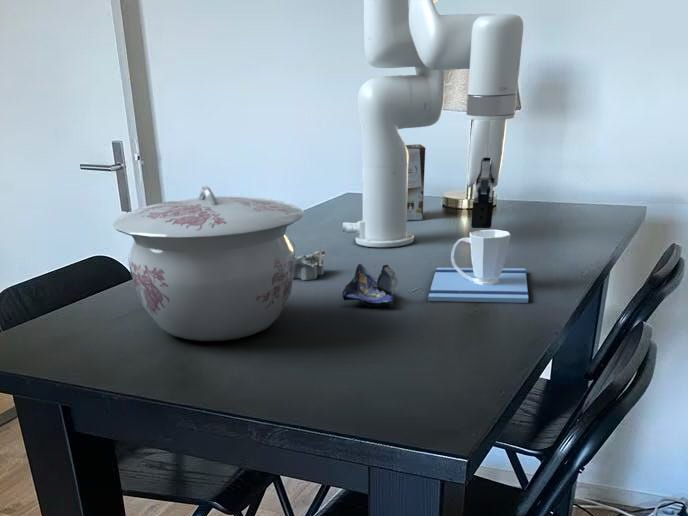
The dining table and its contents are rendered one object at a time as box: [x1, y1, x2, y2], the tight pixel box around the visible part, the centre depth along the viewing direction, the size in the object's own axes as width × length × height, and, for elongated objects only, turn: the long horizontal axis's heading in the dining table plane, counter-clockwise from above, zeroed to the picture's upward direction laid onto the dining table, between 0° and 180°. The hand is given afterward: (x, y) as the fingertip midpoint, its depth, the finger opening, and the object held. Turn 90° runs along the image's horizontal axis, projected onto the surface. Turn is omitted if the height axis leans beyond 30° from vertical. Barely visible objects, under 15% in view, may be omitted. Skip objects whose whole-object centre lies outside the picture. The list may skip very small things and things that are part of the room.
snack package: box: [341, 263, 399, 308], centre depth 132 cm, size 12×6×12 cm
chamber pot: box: [112, 185, 304, 343], centre depth 117 cm, size 28×28×21 cm
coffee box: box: [405, 143, 426, 221], centre depth 192 cm, size 9×6×16 cm
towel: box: [427, 267, 529, 304], centre depth 138 cm, size 16×20×1 cm
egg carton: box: [293, 250, 326, 281], centre depth 149 cm, size 11×8×4 cm
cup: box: [450, 229, 512, 285], centre depth 136 cm, size 7×10×8 cm
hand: (481, 221), depth 133 cm, fingers open, 9 cm apart
